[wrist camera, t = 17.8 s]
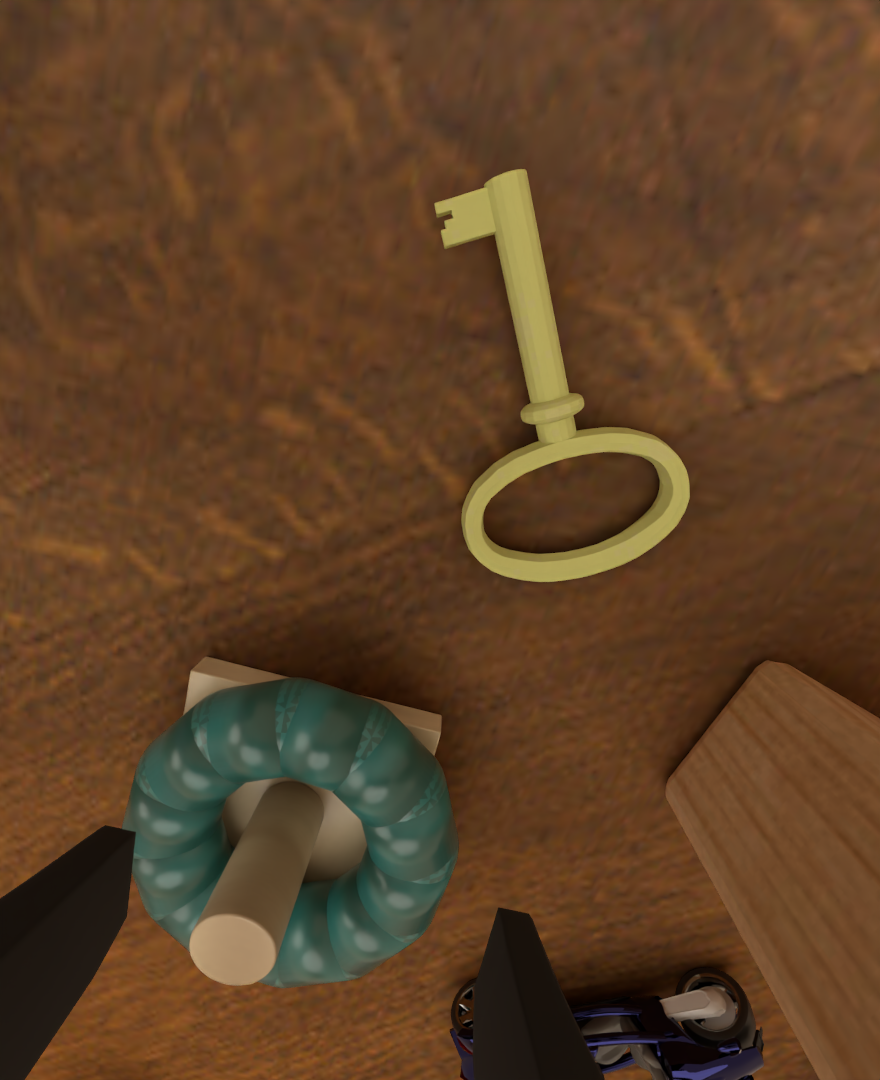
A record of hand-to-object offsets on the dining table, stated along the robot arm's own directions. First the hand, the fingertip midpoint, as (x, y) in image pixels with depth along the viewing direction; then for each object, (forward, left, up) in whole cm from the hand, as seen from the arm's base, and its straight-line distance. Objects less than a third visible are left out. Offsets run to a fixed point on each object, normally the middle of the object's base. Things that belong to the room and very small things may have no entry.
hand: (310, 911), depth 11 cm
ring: (-1, -5, -7) cm, 9 cm away
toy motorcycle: (+12, -12, -10) cm, 20 cm away
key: (+3, +11, -10) cm, 15 cm away
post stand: (-2, -5, -10) cm, 11 cm away
